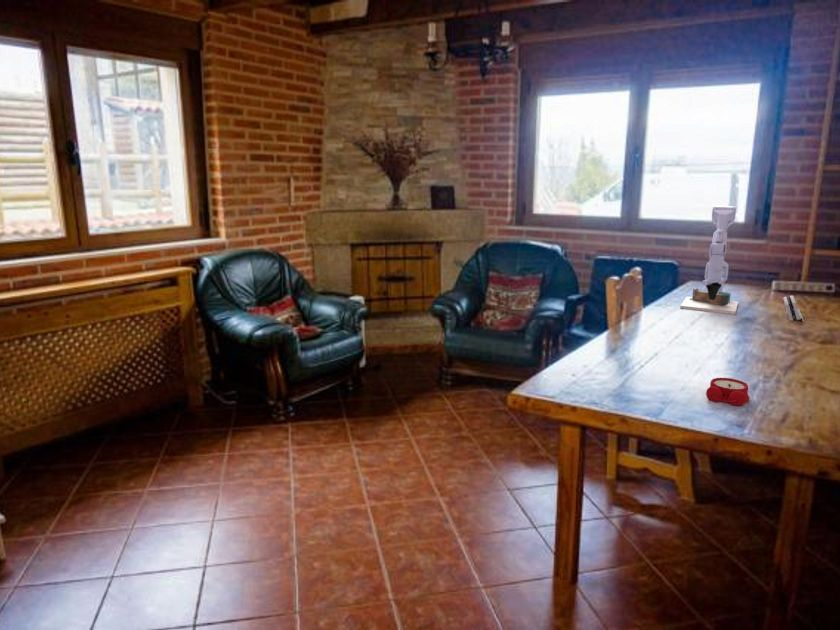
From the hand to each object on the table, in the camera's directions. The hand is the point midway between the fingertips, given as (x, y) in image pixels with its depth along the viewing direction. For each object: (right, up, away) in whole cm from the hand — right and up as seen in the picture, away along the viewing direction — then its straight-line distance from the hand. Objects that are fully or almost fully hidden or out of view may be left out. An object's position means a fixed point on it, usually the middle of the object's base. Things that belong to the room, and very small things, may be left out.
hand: (711, 299), depth 272 cm
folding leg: (+1, -1, +4) cm, 4 cm away
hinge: (+26, -8, -16) cm, 32 cm away
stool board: (0, -3, +2) cm, 4 cm away
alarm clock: (-48, -30, -108) cm, 122 cm away
